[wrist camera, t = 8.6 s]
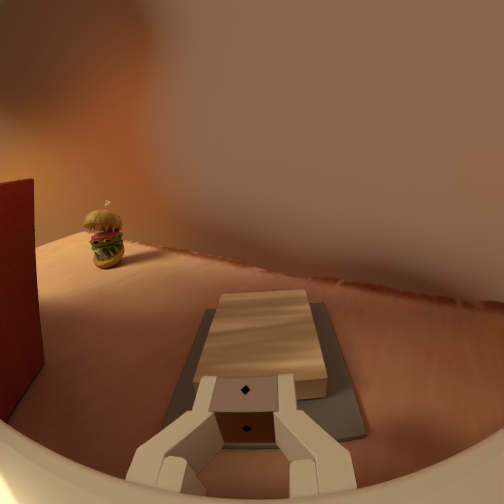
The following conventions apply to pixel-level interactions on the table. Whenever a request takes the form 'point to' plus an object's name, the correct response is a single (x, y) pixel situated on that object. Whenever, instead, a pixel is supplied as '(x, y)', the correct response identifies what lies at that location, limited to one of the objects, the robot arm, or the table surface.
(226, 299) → the picture frame
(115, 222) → the hamburger
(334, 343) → the mat
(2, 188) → the plant pot
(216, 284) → the table surface
